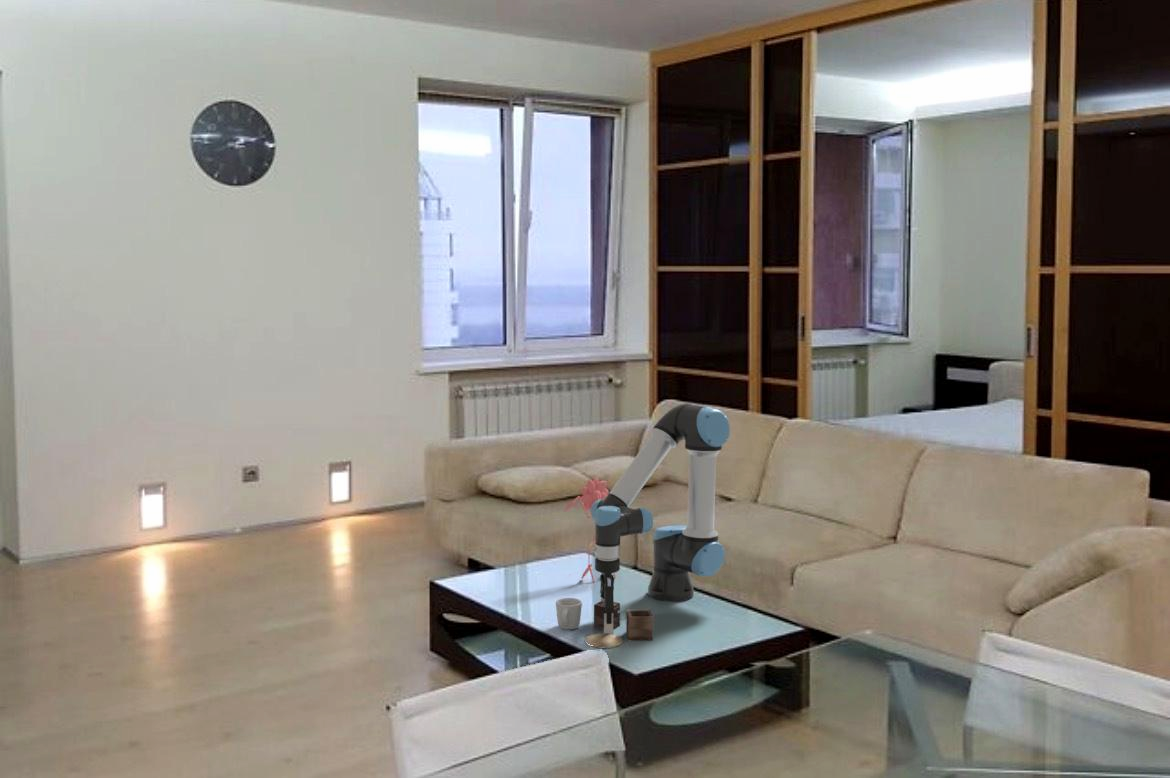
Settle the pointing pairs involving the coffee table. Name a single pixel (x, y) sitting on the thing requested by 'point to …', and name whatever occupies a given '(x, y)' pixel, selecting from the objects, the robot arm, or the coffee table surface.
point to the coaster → (604, 640)
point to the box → (600, 616)
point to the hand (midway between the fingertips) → (606, 626)
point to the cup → (568, 612)
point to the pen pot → (639, 625)
